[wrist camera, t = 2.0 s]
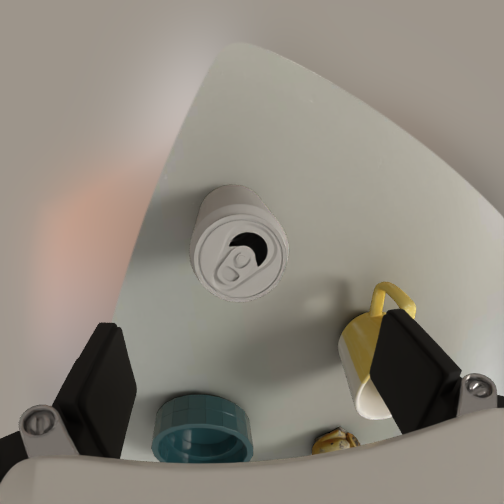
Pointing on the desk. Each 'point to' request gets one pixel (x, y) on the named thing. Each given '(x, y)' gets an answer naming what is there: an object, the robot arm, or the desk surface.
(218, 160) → the desk surface
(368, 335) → the mug
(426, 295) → the desk surface
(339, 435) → the decorative figurine
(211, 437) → the bowl
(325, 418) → the desk surface
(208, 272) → the beverage can
